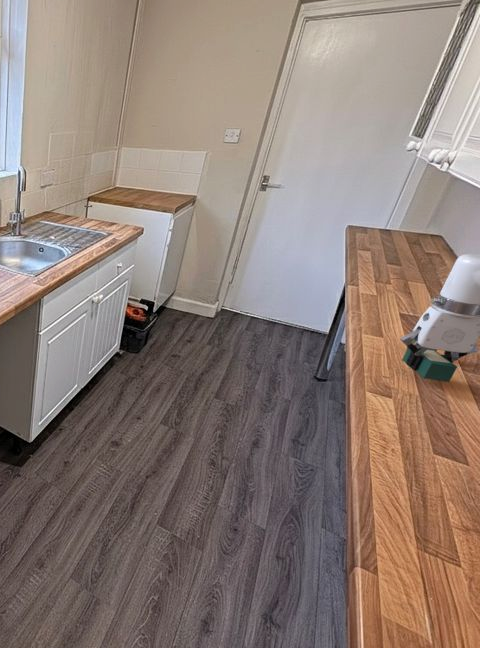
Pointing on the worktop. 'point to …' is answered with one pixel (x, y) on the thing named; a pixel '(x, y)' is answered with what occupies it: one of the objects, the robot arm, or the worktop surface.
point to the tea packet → (433, 366)
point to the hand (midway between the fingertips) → (425, 368)
